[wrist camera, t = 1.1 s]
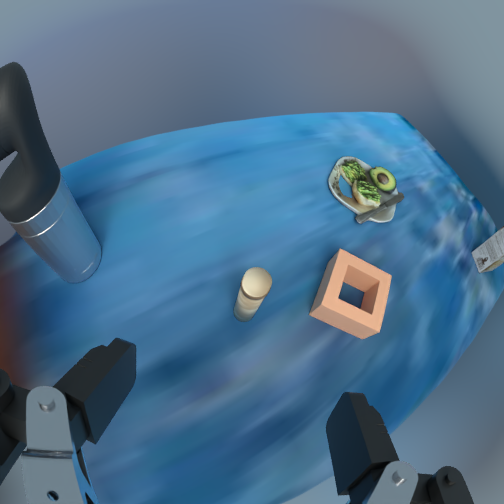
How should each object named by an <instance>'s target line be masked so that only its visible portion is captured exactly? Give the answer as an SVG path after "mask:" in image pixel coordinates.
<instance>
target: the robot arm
mask: <svg viewBox="0 0 504 504" xmlns="http://www.w3.org/2000/svg"><path fill="white" fill-rule="evenodd" d="M14 151H17V152H18V154H17V156H16V157H15V158H14V160H13V161H12V163H11V164H10V165H9V166H8V168H7V169H6V170H5V172H4V174H3V175H2V177H1V179H0V212H1V213H2V214H3V216H4V217H5V218H6V219H7V221H8V222H9V223H10V224H11V226H12V227H13V228H14V229H15V230H16V231H17V233H18V234H19V235H20V236H21V237H22V238H23V239H24V240H25V241H26V243H27V244H28V245H29V246H30V247H31V248H32V249H33V250H34V251H35V252H36V253H37V254H38V255H39V256H40V257H41V258H42V259H43V260H44V261H45V262H46V263H47V264H48V265H49V266H50V267H51V269H52V270H54V271H55V272H56V273H57V274H58V275H59V276H60V277H61V278H62V279H63V280H65V281H67V282H69V283H79V282H82V281H84V280H86V279H88V278H89V277H90V276H91V275H92V274H93V273H94V272H95V271H96V269H97V267H98V266H99V263H100V260H101V255H102V253H101V246H100V243H99V241H98V240H97V238H96V236H95V235H94V233H93V231H92V230H91V228H90V226H89V224H88V223H87V221H86V219H85V217H84V216H83V214H82V212H81V210H80V209H79V207H78V205H77V203H76V201H75V199H74V197H73V196H72V194H71V192H70V190H69V188H68V186H67V184H66V182H65V180H64V178H63V176H62V174H61V172H60V170H59V168H58V166H57V164H56V162H55V159H54V157H53V155H52V152H51V150H50V148H49V145H48V143H47V140H46V138H45V135H44V133H43V130H42V127H41V124H40V120H39V117H38V114H37V110H36V106H35V103H34V98H33V94H32V91H31V87H30V84H29V80H28V78H27V75H26V73H25V71H24V69H23V68H22V66H20V64H18V63H16V62H12V63H9V64H7V65H5V66H3V67H1V68H0V161H1V160H3V159H4V158H5V157H7V156H8V155H10V154H11V153H13V152H14ZM135 379H136V345H135V344H133V343H130V342H128V341H125V340H122V339H120V338H115V339H114V340H113V341H112V342H111V343H110V344H109V345H108V346H107V347H106V346H104V345H100V346H98V347H96V348H93V349H91V350H90V351H89V352H88V353H87V354H86V355H85V356H84V357H83V359H82V358H81V359H80V360H79V361H78V362H77V365H76V364H75V365H74V366H73V367H72V368H71V369H70V370H69V371H68V372H67V373H66V374H65V375H64V376H63V377H62V378H61V379H60V380H59V381H58V382H57V383H56V384H55V385H54V386H53V387H50V386H40V387H36V388H34V389H33V390H31V391H30V390H27V389H24V388H21V387H18V386H16V385H13V384H11V381H10V378H9V376H8V374H7V373H6V372H5V371H4V370H2V369H0V485H1V484H2V482H3V480H4V479H5V477H6V476H7V474H8V473H9V471H10V469H11V468H12V466H13V465H14V463H15V462H16V460H17V459H18V457H19V456H20V455H21V462H22V472H23V480H24V487H25V493H26V498H27V503H28V504H100V503H99V501H98V498H97V496H96V494H95V492H94V489H93V486H92V483H91V479H90V476H89V473H88V469H87V465H86V461H85V457H84V453H83V449H82V445H83V444H84V442H85V441H86V440H88V441H90V442H92V443H94V444H96V443H97V442H98V440H99V439H100V437H101V435H102V434H103V432H104V431H105V429H106V428H107V426H108V424H109V423H110V421H111V420H112V418H113V417H114V415H115V414H116V412H117V410H118V409H119V407H120V406H121V404H122V403H123V401H124V400H125V398H126V397H127V395H128V394H129V392H130V391H131V389H132V387H133V385H134V382H135ZM387 432H388V431H387V429H386V426H384V422H383V419H382V417H381V415H380V414H379V412H378V411H377V410H376V409H375V408H374V407H373V406H369V404H368V402H367V399H366V397H365V395H364V394H363V393H352V392H345V393H343V394H342V396H341V398H340V399H339V401H338V403H337V405H336V406H335V408H334V410H333V411H332V413H331V415H330V416H329V418H328V421H327V425H326V433H327V438H328V443H329V449H330V454H331V459H332V465H333V470H334V476H335V481H336V487H337V493H338V495H349V496H350V500H349V501H348V502H347V503H346V504H474V503H473V500H472V497H471V495H470V492H469V490H468V488H467V485H466V483H465V481H464V479H463V476H462V474H461V473H460V472H459V471H458V470H457V469H456V468H454V467H451V466H445V467H442V468H441V469H439V470H438V471H437V472H436V473H435V474H434V475H430V474H418V473H417V471H416V469H415V468H414V467H413V466H412V465H410V464H409V463H407V462H404V461H400V460H399V458H398V456H397V453H396V451H395V448H394V446H393V443H392V441H391V438H390V436H389V434H388V433H387ZM26 446H27V451H23V450H24V449H25V447H26ZM21 453H22V454H21Z"/></svg>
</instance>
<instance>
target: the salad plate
mask: <svg viewBox="0 0 504 504" xmlns="http://www.w3.org/2000/svg"><path fill="white" fill-rule="evenodd" d="M340 175H342V177H343V178H344V179H345V180H346V182H347V183H348V184H349V185H350V186H351V187H352V192H353V194H352V198H349V197H346V196H344V195H343V194H342V192H341V190H340V188H339V184H338V183H339V177H340ZM328 184H329V188H330V190H331V192H332V194H333V195H334V196H335V198H336V199H337V200H338V201H339V202H340V203H341V204H342V205H344V206H345V207H346V208H348V209H350V210H351V211H353V212H355V213H356V214H357V216H356V218H355V219H356V221H357V222H358V223H360V224H362V223H364V222H365V221H367V220H370V221H374V222H377V223H383V222H389V221H390V220H391V219H392V218H393V216H394V212H395V207H396V203H398V202H400V201H402V200H403V198H404V196H403V193H399V192H398V191H397V189H396V179H395V177H394V176H393V174H392V173H391V172H389V171H388V170H387V169H385V168H383V167H375V168H372V167H370V166H369V165H367V164H366V163H364V162H363V161H361V160H359V159H357V158H355V157H350V156H346V157H342V158H340V159H339V160H338V161H337V162H336V164H335V166H334V168H333V170H332V172H331V174H330V176H329V179H328Z"/></svg>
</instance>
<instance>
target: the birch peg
mask: <svg viewBox="0 0 504 504" xmlns="http://www.w3.org/2000/svg"><path fill="white" fill-rule="evenodd" d="M271 284H272V278H271V276H270V274H269V273H268V272H267V271H266V270H265V269H263V268H259V267H254V268H251V269H249V270H248V271H247V272H246V273H245V274H244V276H243V278H242V281H241V285H240V290H239V294H238V297H237V300H236V304H235V307H234V316H235V317H236V319H237V320H239V321H241V322H247V321H249V320H251V319H252V318H253V316H254V314H255V313H256V311H257V309H258V308H259V306H260V304H261V303H262V301H263V299H264V297H266V296H267V294H268V292H269V291H270V288H271Z"/></svg>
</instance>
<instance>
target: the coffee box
mask: <svg viewBox="0 0 504 504" xmlns="http://www.w3.org/2000/svg"><path fill="white" fill-rule="evenodd" d="M472 255H473V258H474V260H475V263H476V265H477V268H478V271H479V273H482V272H488V271H492V270H494V269H495V268H497V267H498V266H500V265H501V264H502V263H504V226H503V227H502V228H501V229H500V230H499V231H497V232H496V233H495V234H494V235H493V236H491V237H490V238H489V239H488V240H487V241H485V242H484V243H483V244H482V245H480V246H479V247H478V248H476V249H475V250H474V251H473V252H472Z"/></svg>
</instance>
